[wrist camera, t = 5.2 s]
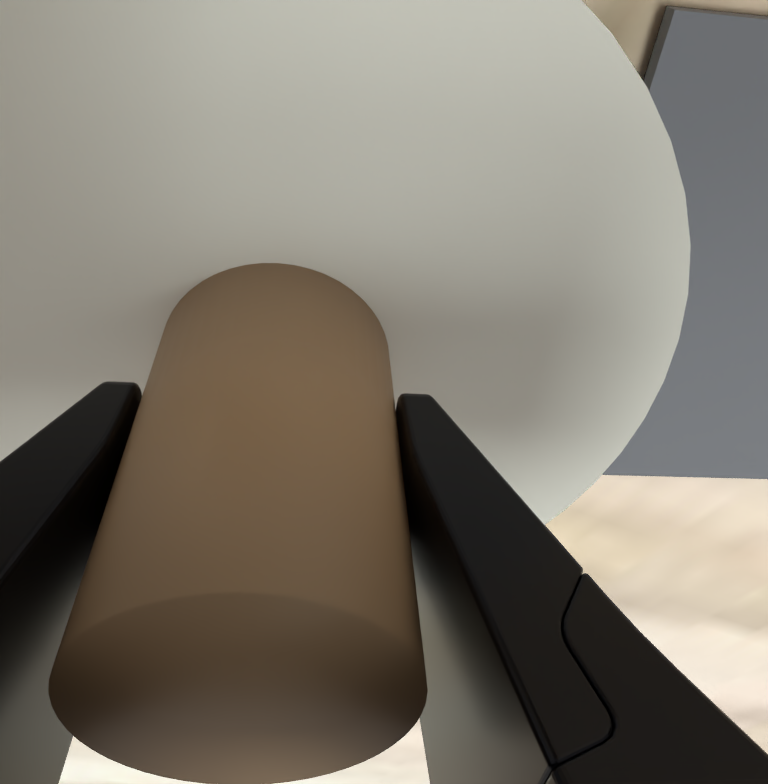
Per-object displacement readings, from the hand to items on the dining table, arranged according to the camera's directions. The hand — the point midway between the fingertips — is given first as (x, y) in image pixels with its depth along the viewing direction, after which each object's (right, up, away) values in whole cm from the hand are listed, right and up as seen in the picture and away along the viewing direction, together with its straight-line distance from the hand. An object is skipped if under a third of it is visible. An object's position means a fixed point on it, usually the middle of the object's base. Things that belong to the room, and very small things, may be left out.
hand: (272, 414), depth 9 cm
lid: (0, +1, +1) cm, 2 cm away
